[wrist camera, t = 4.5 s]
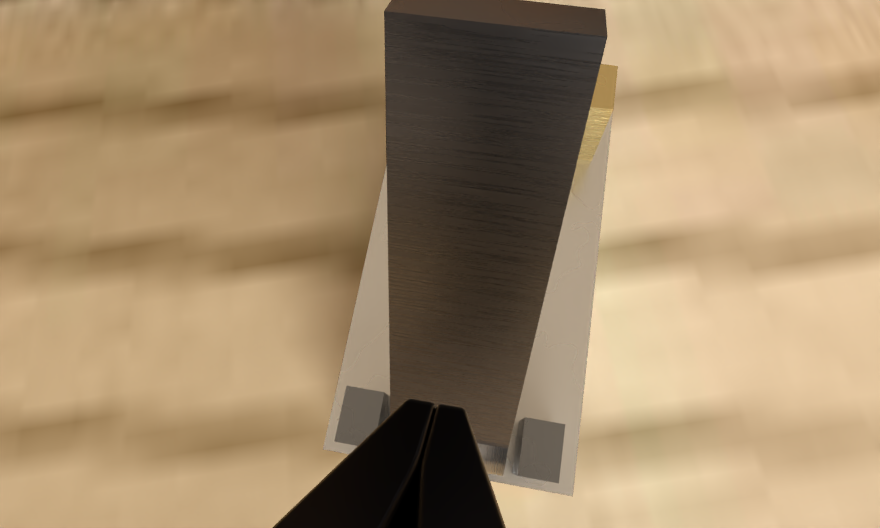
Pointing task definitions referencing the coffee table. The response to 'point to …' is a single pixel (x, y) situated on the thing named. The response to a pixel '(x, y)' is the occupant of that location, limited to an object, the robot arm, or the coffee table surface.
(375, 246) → the white box with posts
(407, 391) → the block
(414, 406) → the robot arm
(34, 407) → the coffee table surface
